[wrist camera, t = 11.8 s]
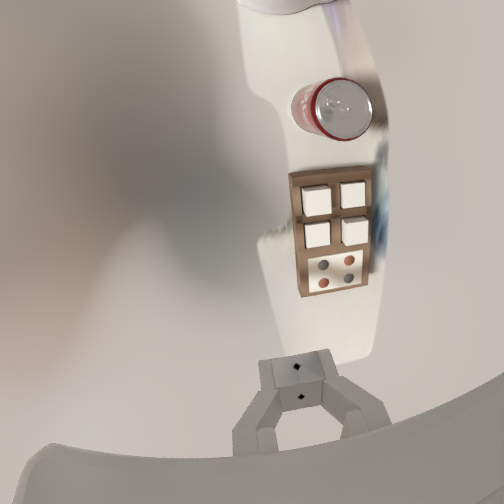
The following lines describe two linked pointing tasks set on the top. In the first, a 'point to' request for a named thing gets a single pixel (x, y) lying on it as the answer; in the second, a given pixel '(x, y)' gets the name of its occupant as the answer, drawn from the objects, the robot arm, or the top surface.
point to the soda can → (333, 109)
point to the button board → (337, 253)
